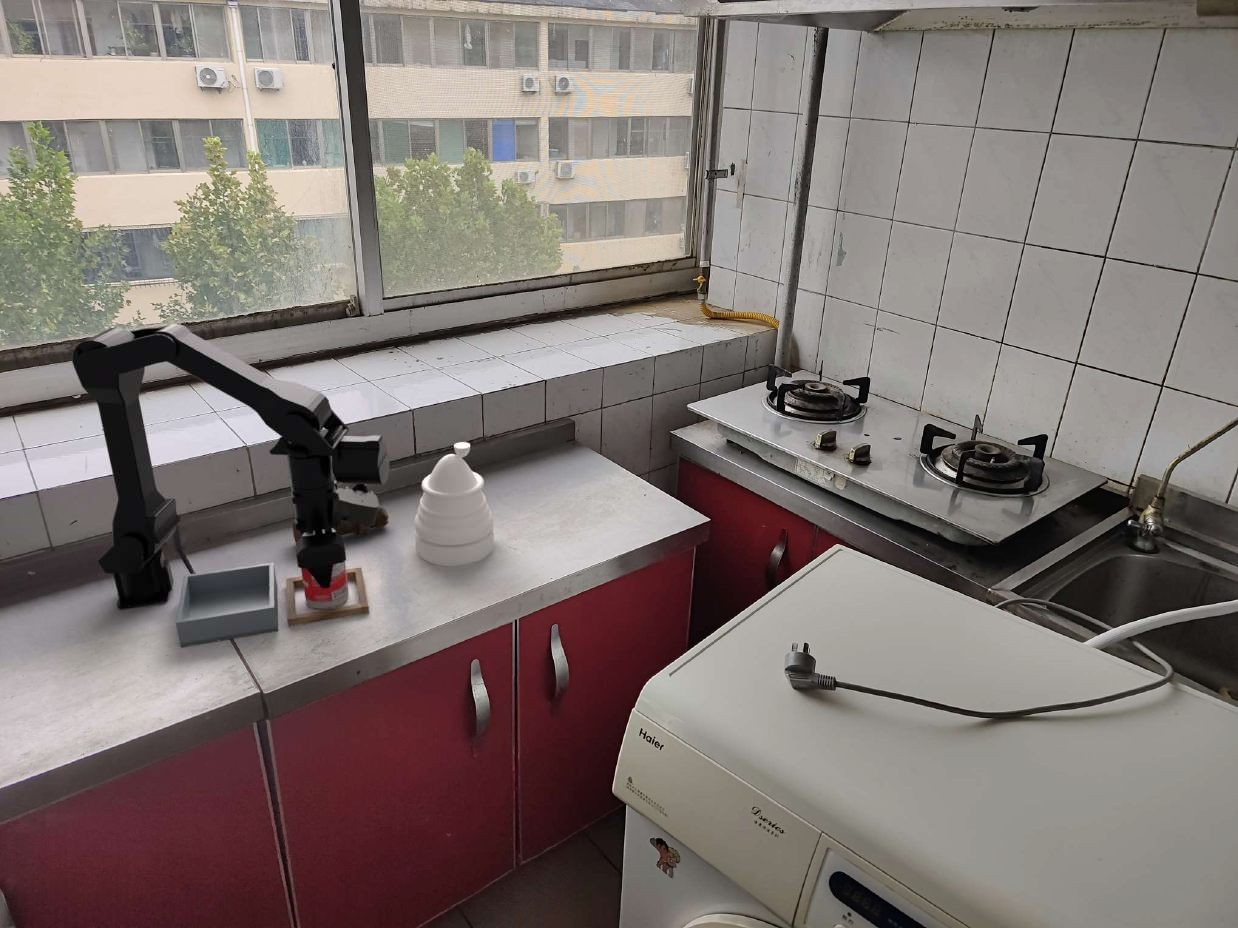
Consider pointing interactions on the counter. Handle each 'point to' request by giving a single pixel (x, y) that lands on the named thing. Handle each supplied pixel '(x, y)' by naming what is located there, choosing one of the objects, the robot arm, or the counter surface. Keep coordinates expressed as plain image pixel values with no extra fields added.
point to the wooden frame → (327, 613)
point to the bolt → (353, 526)
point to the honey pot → (453, 514)
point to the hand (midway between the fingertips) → (324, 575)
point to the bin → (227, 604)
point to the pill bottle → (326, 596)
